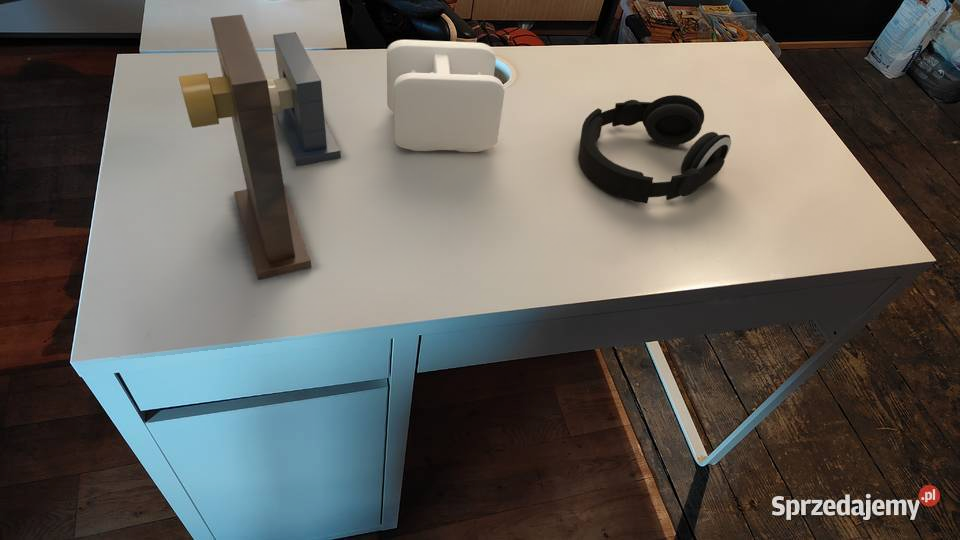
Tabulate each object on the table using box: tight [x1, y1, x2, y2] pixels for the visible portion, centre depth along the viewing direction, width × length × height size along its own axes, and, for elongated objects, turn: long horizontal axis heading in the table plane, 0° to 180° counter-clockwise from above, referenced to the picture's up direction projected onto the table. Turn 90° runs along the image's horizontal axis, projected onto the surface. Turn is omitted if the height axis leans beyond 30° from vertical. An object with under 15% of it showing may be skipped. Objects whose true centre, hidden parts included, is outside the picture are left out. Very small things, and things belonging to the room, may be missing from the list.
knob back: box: [266, 75, 294, 116], centre depth 86 cm, size 6×5×5 cm
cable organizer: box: [386, 39, 505, 153], centre depth 91 cm, size 15×11×12 cm
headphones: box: [577, 94, 732, 204], centre depth 92 cm, size 18×8×20 cm
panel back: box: [272, 31, 342, 167], centre depth 88 cm, size 6×14×12 cm, turn 25°
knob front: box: [178, 72, 236, 129], centre depth 64 cm, size 6×5×5 cm
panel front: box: [210, 14, 313, 281], centre depth 70 cm, size 6×14×24 cm, turn 23°
